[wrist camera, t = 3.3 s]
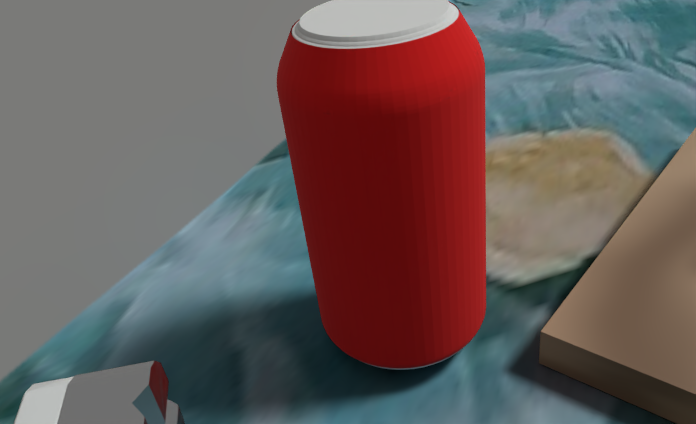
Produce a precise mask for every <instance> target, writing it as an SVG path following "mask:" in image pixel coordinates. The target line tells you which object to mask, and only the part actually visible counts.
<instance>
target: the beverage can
mask: <svg viewBox="0 0 696 424" xmlns="http://www.w3.org/2000/svg"><path fill="white" fill-rule="evenodd" d="M277 91H278V96H279V102H280V107H281V112H282V118H283V122H284V128H285V133H286V138H287V143H288V149H289V154H290V159H291V164H292V169H293V174H294V180H295V185H296V190H297V195H298V200H299V205H300V211H301V216H302V221H303V226H304V231H305V237H306V242H307V247H308V252H309V257H310V262H311V268H312V273H313V278H314V283H315V288H316V293H317V299H318V304H319V309H320V314H321V319H322V323H323V326H324V328H325V330H326V333H327V334H328V336H329V337H330V339H331V340H332V341H333V342H334V343H335V345H336V346H337V347H339V348H340V349H341V350H342V351H343V352H345V353H346V354H348V355H349V356H351V357H353V358H355V359H357V360H359V361H361V362H363V363H366V364H369V365H372V366H375V367H380V368H385V369H396V370H405V369H416V368H422V367H426V366H430V365H433V364H436V363H439V362H442V361H444V360H446V359H448V358H450V357H451V356H453V355H455V354H456V353H457V352H459V351H460V350H461V349H463V348H464V347H465V346H466V345H467V344H468V343H469V342H470V341H471V340H472V338H473V337H474V336H475V335H476V333H477V332H478V330H479V329H480V326H481V324H482V322H483V319H484V316H485V310H486V196H485V62H484V57H483V53H482V50H481V47H480V45H479V42H478V40H477V38H476V37H475V35H474V34H473V32H472V30H471V29H470V27H469V25H468V24H467V22H466V20H465V19H464V17H463V15H462V14H461V12H460V10H459V9H458V7H457V6H456V5H454V4H453V3H451V2H449V1H447V0H333V1H330V2H327V3H324V4H321V5H319V6H317V7H315V8H313V9H311V10H309V11H307V12H306V13H305V14H304V15H303V16H302V17H301V18H300V19H299V20H298V21H297V22H296V23H295V24H294V25H293V26H292V28H291V31H290V34H289V36H288V39H287V42H286V45H285V48H284V51H283V54H282V57H281V59H280V63H279V67H278V73H277Z"/></svg>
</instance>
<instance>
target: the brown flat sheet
mask: <svg viewBox="0 0 696 424" xmlns="http://www.w3.org/2000/svg"><path fill="white" fill-rule="evenodd" d="M539 363H540V364H542V365H544V366H546V367H549V368H551V369H553V370H556V371H558V372H560V373H562V374H565V375H567V376H569V377H572V378H574V379H576V380H578V381H581V382H583V383H585V384H588V385H590V386H592V387H594V388H597V389H599V390H601V391H604V392H606V393H608V394H610V395H613V396H615V397H617V398H620V399H622V400H624V401H626V402H629V403H631V404H633V405H635V406H638V407H640V408H642V409H645V410H647V411H649V412H651V413H654V414H656V415H658V416H661V417H663V418H665V419H667V420H670V421H672V422H674V423H677V424H696V128H695V130H694V131H693V132H692V134H691V135H690V136H689V137H688V139H687V140H686V141H685V143H684V144H683V145H682V147H681V148H680V149H679V151H678V152H677V153H676V155H675V156H674V157H673V158H672V160H671V161H670V162H669V164H668V165H667V166H666V168H665V169H664V170H663V172H662V173H661V174H660V176H659V177H658V178H657V179H656V181H655V182H654V183H653V185H652V186H651V187H650V189H649V190H648V191H647V193H646V194H645V195H644V197H643V198H642V199H641V200H640V202H639V203H638V204H637V206H636V207H635V208H634V210H633V211H632V212H631V214H630V215H629V216H628V218H627V219H626V220H625V221H624V223H623V224H622V225H621V227H620V228H619V229H618V231H617V232H616V233H615V235H614V236H613V237H612V239H611V240H610V241H609V242H608V244H607V245H606V246H605V248H604V249H603V250H602V252H601V253H600V254H599V256H598V257H597V258H596V259H595V261H594V262H593V263H592V265H591V266H590V267H589V269H588V270H587V271H586V273H585V274H584V275H583V277H582V278H581V279H580V280H579V282H578V283H577V284H576V286H575V287H574V288H573V290H572V291H571V292H570V294H569V295H568V296H567V298H566V299H565V300H564V301H563V303H562V304H561V305H560V307H559V308H558V309H557V311H556V312H555V313H554V315H553V316H552V317H551V319H550V320H549V321H548V322H547V324H546V325H545V326H544V328H543V329H542V330H541V335H540V352H539Z"/></svg>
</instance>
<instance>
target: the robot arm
mask: <svg viewBox="0 0 696 424" xmlns="http://www.w3.org/2000/svg"><path fill="white" fill-rule="evenodd" d="M168 383H169V381H168V378H167V376H166V374H165V372H164V369H163V367H162V365H161V363H160V362H157V361H149V362H144V363H139V364H133V365H128V366H123V367H117V368H112V369H107V370H101V371H96V372H91V373H85V374H80V375H75V376H74V377H69V378H64V379H58V380H53V381H47V382H42V383H36V384H33V385H32V386H31V387H30V388H29V389H28V390H27V391H26V392H25V394H24V396H23V398H22V401H21V404H20V407H19V410H18V413H17V416H16V419H15V422H14V424H185V423H184V419H183V416H182V413H181V411H180V408H179V405H178V404H176V403H174V402H172V401H170V400H168V399H167V396H168Z"/></svg>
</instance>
